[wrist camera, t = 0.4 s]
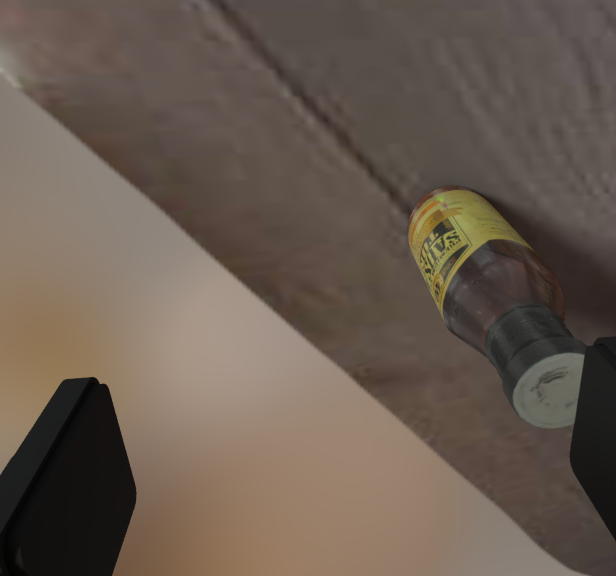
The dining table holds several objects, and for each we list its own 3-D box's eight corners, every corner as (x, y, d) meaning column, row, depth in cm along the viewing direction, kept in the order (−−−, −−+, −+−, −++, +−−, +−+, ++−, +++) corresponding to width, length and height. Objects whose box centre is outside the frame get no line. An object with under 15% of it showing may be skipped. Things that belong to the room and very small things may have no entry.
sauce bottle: (408, 181, 40) (500, 312, 22) (496, 182, 40) (659, 314, 22) (399, 267, 43) (475, 446, 25) (482, 268, 43) (617, 446, 25)
